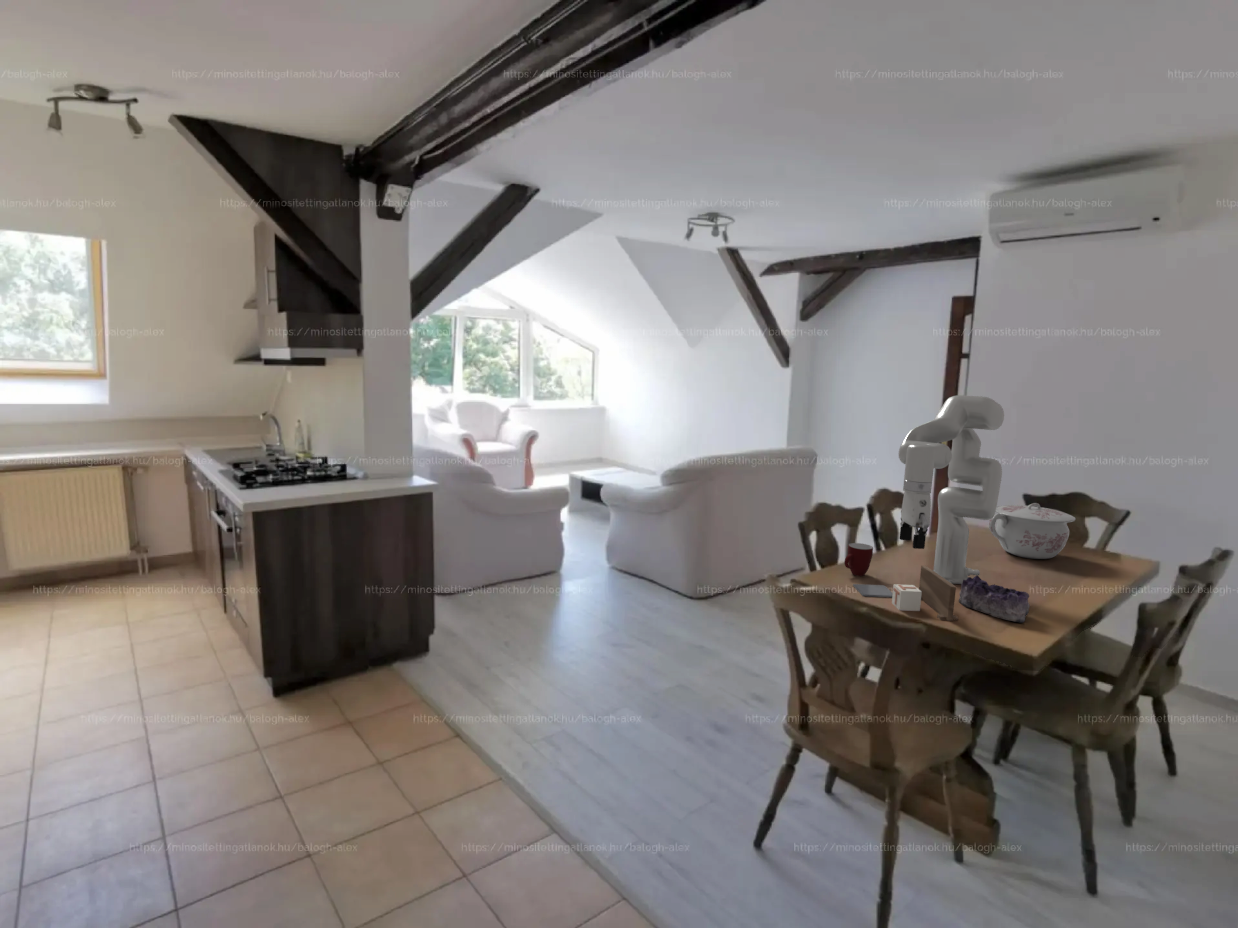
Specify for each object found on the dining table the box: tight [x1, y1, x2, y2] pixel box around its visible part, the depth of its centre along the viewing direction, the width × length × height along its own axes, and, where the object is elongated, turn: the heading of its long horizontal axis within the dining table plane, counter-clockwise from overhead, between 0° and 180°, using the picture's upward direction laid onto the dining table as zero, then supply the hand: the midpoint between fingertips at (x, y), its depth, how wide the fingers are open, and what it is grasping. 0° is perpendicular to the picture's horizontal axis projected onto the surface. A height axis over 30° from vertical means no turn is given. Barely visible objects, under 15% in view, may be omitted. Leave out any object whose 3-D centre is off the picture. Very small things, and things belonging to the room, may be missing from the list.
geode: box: [958, 575, 1030, 624], centre depth 198 cm, size 20×12×10 cm, turn 37°
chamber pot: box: [988, 502, 1076, 560], centre depth 262 cm, size 28×28×21 cm
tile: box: [852, 583, 893, 598], centre depth 213 cm, size 10×10×1 cm
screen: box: [918, 565, 959, 622], centre depth 199 cm, size 5×20×10 cm, turn 178°
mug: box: [844, 542, 874, 577], centre depth 230 cm, size 11×8×10 cm
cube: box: [891, 583, 922, 612], centre depth 200 cm, size 6×6×6 cm
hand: (911, 544), depth 197 cm, fingers open, 9 cm apart
